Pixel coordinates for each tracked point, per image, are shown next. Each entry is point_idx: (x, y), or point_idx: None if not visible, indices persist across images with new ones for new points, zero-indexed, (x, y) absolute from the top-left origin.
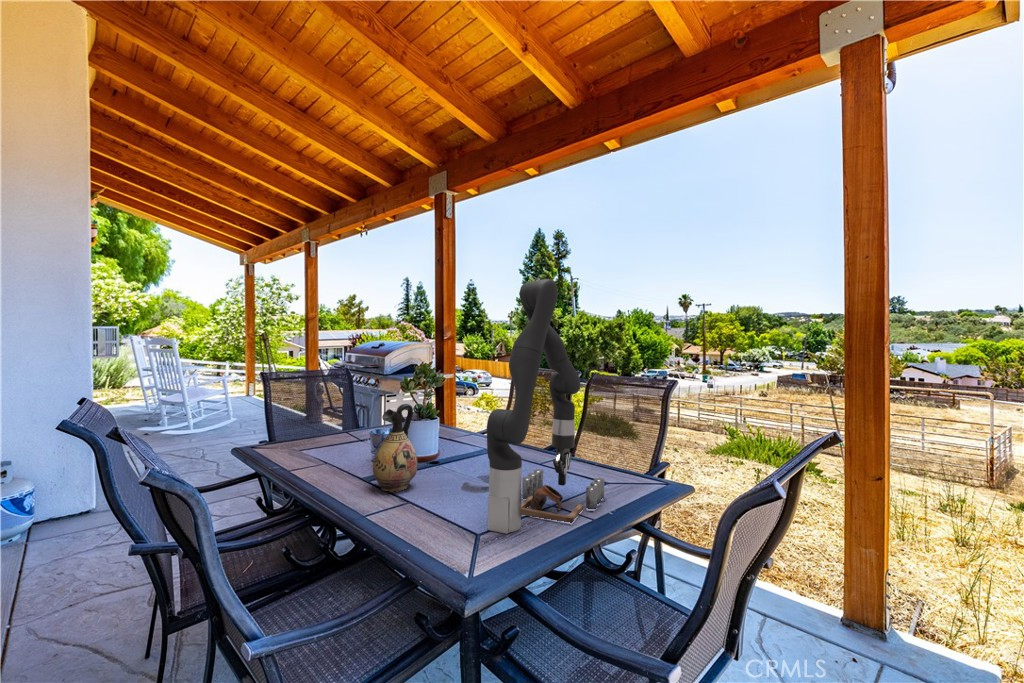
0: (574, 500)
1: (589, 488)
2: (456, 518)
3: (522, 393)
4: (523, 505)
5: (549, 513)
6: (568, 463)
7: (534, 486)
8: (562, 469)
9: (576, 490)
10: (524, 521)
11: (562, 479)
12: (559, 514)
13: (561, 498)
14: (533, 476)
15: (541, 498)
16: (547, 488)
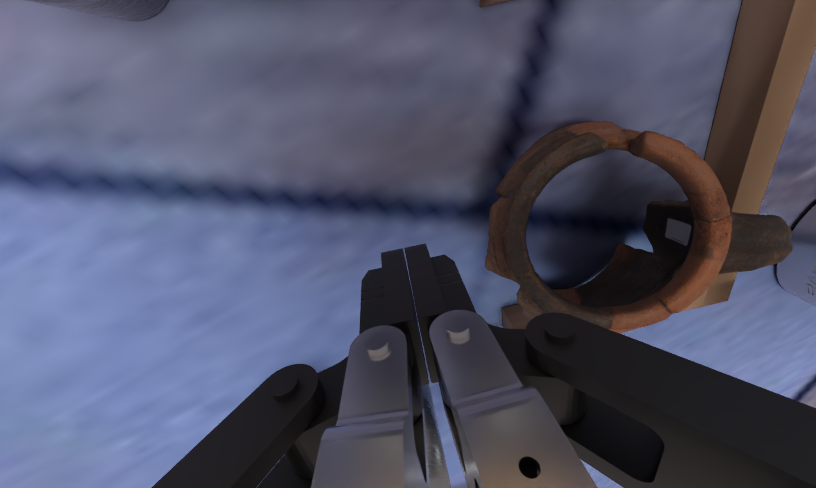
0: (308, 151)
1: None
2: (780, 389)
3: None
4: None
5: (782, 100)
6: (357, 472)
7: (425, 404)
8: (645, 363)
9: (106, 250)
10: (774, 199)
11: (463, 285)
12: (795, 20)
13: (599, 139)
14: (443, 474)
15: (780, 219)
16: (568, 300)
